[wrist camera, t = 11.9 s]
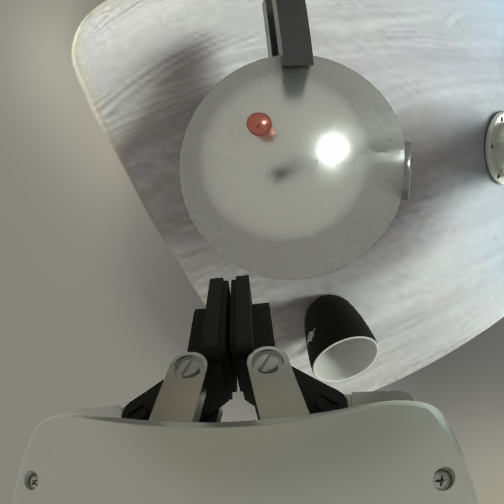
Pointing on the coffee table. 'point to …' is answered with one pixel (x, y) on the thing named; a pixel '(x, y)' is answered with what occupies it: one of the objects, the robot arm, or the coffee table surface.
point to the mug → (338, 340)
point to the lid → (293, 160)
